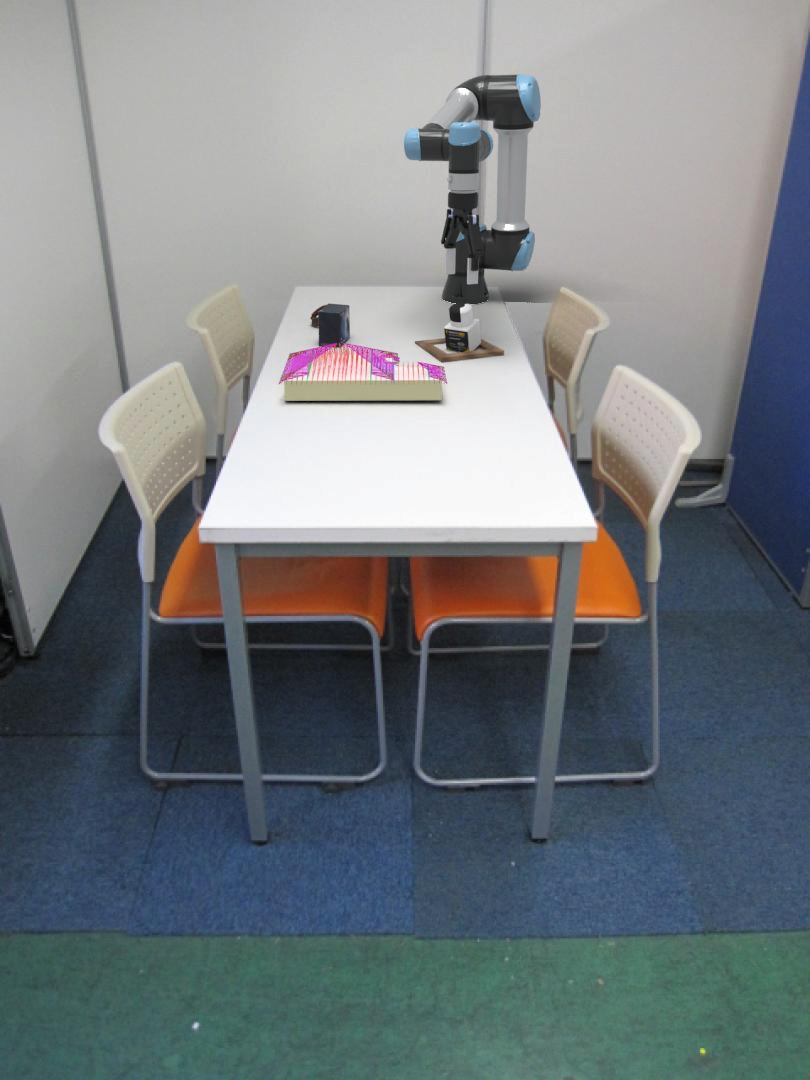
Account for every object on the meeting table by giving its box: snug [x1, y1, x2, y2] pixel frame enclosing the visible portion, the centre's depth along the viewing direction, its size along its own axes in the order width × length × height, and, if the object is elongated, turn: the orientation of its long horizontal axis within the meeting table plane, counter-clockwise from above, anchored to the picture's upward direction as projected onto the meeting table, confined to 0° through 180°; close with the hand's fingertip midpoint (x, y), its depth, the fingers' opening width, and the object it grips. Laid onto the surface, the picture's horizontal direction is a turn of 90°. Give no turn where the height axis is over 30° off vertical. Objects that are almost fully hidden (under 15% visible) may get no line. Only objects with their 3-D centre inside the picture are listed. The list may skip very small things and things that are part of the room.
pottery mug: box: [309, 303, 329, 328], centre depth 255 cm, size 12×9×8 cm
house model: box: [277, 342, 449, 402], centre depth 207 cm, size 38×25×10 cm
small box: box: [317, 303, 351, 349], centre depth 238 cm, size 11×6×10 cm, turn 168°
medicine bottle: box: [443, 303, 482, 353], centre depth 232 cm, size 7×7×12 cm
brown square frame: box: [414, 337, 505, 364], centre depth 235 cm, size 18×18×2 cm
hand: (460, 278), depth 227 cm, fingers open, 13 cm apart
